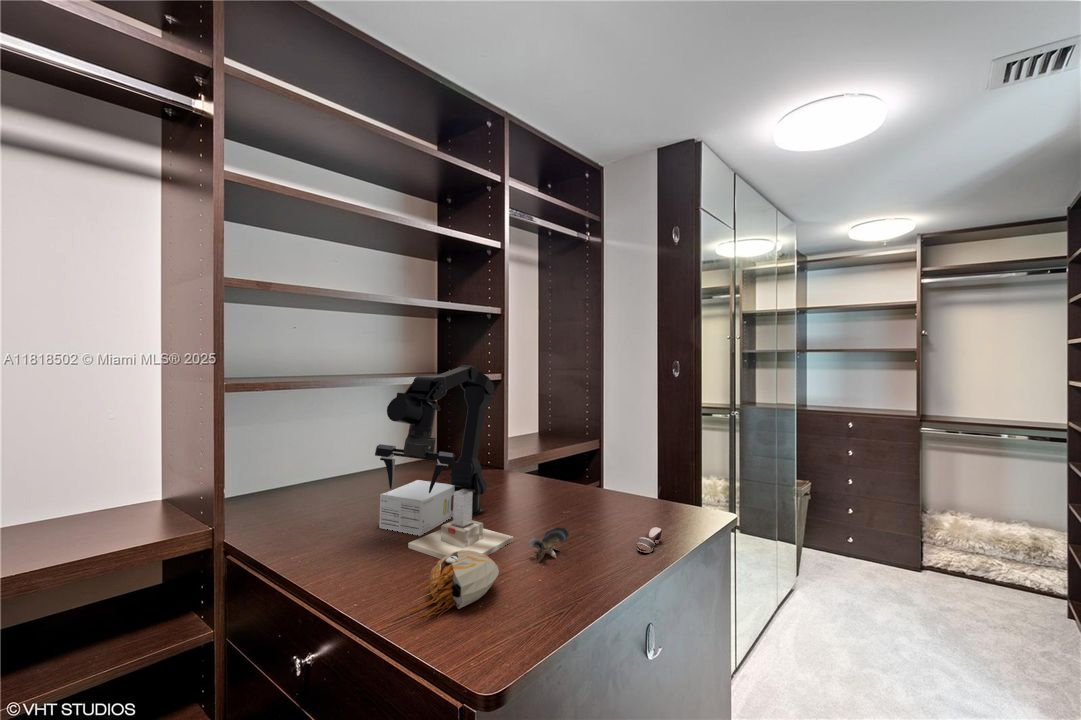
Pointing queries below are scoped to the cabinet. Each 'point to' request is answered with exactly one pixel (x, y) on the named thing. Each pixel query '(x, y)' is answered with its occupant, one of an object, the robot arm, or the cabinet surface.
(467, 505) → the steel post
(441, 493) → the supplement box
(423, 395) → the robot arm
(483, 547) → the birch stand
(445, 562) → the nautilus
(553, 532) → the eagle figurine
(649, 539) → the heeled mule
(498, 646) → the cabinet surface
